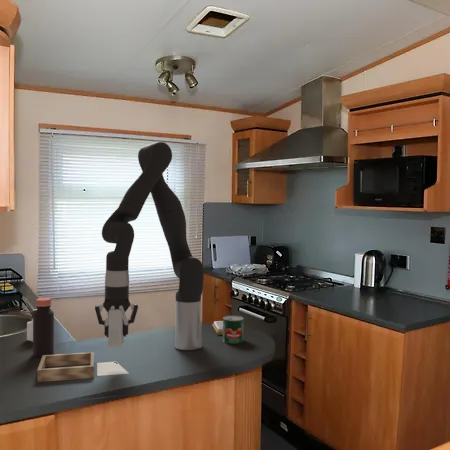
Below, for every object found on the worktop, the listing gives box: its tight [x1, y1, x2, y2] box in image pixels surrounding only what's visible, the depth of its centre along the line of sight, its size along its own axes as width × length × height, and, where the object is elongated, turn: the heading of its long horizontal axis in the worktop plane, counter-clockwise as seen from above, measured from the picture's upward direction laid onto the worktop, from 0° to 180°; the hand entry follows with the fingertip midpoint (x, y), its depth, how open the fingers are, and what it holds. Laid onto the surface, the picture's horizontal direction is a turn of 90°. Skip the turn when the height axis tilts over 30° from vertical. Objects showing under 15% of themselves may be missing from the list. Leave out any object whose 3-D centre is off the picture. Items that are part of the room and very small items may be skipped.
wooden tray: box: [36, 351, 95, 383], centre depth 144 cm, size 16×14×4 cm
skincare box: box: [107, 309, 125, 349], centre depth 148 cm, size 6×4×12 cm
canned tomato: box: [222, 315, 245, 345], centre depth 176 cm, size 8×8×11 cm
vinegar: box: [32, 297, 55, 359], centre depth 160 cm, size 7×7×20 cm
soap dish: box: [212, 320, 223, 336], centre depth 190 cm, size 12×10×5 cm
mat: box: [96, 361, 129, 377], centre depth 149 cm, size 12×12×1 cm
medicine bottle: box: [26, 308, 37, 343], centre depth 179 cm, size 7×7×12 cm
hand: (116, 336), depth 148 cm, fingers closed on skincare box, 4 cm apart
